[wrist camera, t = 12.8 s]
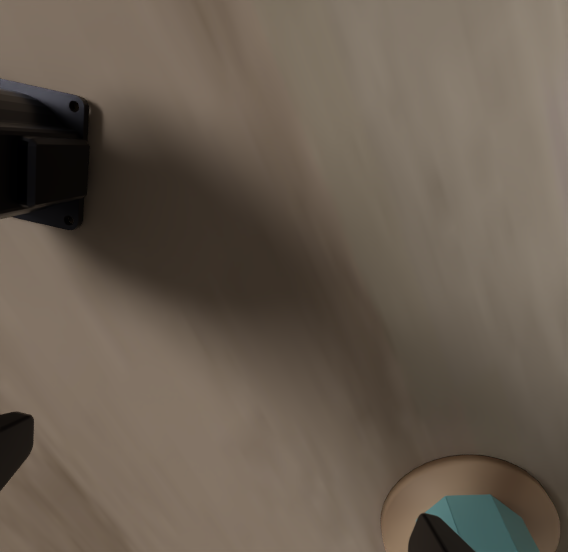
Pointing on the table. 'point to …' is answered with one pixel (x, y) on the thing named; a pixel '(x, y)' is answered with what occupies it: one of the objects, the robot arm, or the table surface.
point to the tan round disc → (468, 481)
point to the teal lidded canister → (484, 523)
